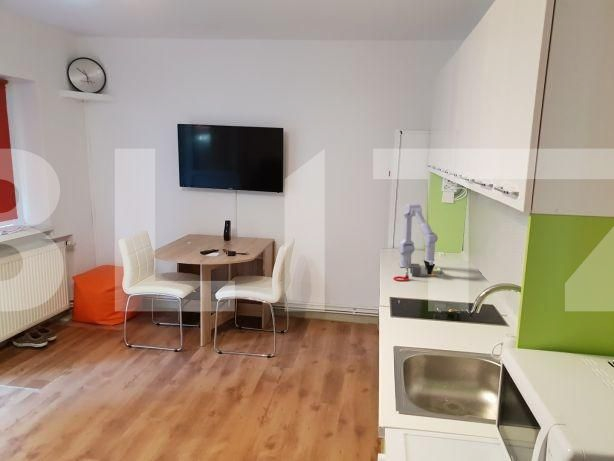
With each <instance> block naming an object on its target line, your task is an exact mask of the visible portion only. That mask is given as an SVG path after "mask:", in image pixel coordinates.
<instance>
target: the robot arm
mask: <svg viewBox="0 0 614 461" xmlns="http://www.w3.org/2000/svg"><path fill="white" fill-rule="evenodd" d="M422 211H423V209H422V205H420V203H411V204H410V203H409V204H408V203H407V204H405V205H404V206H403V230H402V232H403V233H402V240H401V241H399V245H398V248H397V250H398V252H399V254H400V259H399V263H398V265H399V267H400V268H405V269H406V260H407V259H408V269H410V268H411V263H412V255H413V253H415V243H414V241H413V240H412V228H413V227H412V224H413V221H412V220H413V217H415V219H416V220H417V221H418V223H419V224H420V231H421V233H422V234H423V241H424V245H425V247H424V250H425V252H424V258H422V261H423V263H424V267H427V273H428V274H431V273H432V270H433V267H436V265H435V262H434V261H435V250H436V243H437V241H438V235H437V233H435V232H433V230H432V228H431V225H430V224H429V223H427V222H426V220H425V217H424V215H423V213H422Z"/></svg>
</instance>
